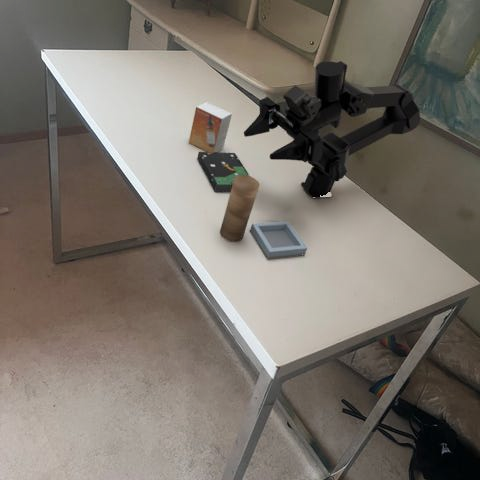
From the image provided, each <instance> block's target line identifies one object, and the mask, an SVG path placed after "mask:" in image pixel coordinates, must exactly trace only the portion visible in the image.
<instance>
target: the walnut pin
mask: <svg viewBox="0 0 480 480" xmlns="http://www.w3.org/2000/svg"><path fill="white" fill-rule="evenodd" d="M259 188H260V182H259V181H258V180H257V179H256V178H254V177H252V176H247V175H238V176H236V177H235V179H234V182H233V186H232V189H231V192H229V193H230V194H229V197H228V201H227V203H226V204H227V205H226V208H225V212H224V214H223V215H224V216H223V218H222V219H223V220H222V222H221V226H220V230H219V234H220V236H221V238H223V239H224V240H226V241H228V242H239V241H241V240H243V238H244V235H245V232H246V228H247V226H248V222H249V219H250V216H251V214H252V210H253V208H254V207H253V206H254V204H255V200H256V197H257V194H258V191H259Z"/></svg>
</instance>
